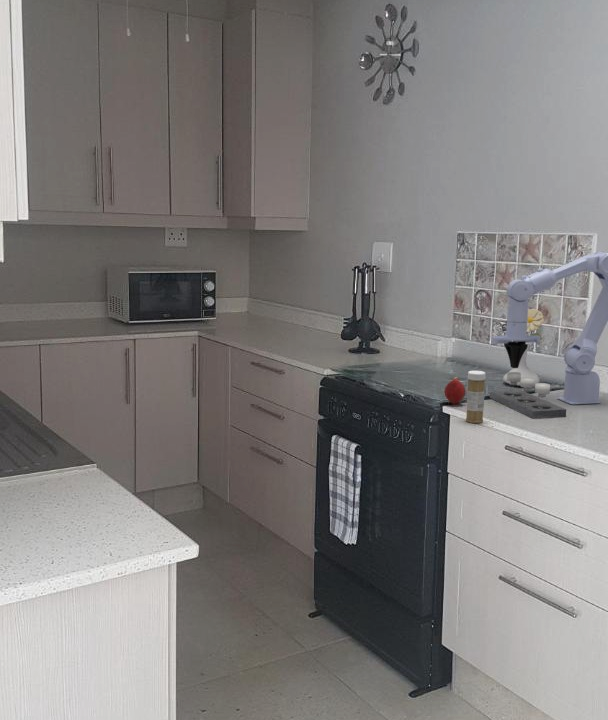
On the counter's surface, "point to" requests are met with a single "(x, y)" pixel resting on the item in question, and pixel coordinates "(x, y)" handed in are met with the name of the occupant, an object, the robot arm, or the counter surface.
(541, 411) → the panel
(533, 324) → the flower in vase
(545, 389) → the knob
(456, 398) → the onion
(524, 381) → the knob mid
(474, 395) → the sprinkles bottle
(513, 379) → the knob
